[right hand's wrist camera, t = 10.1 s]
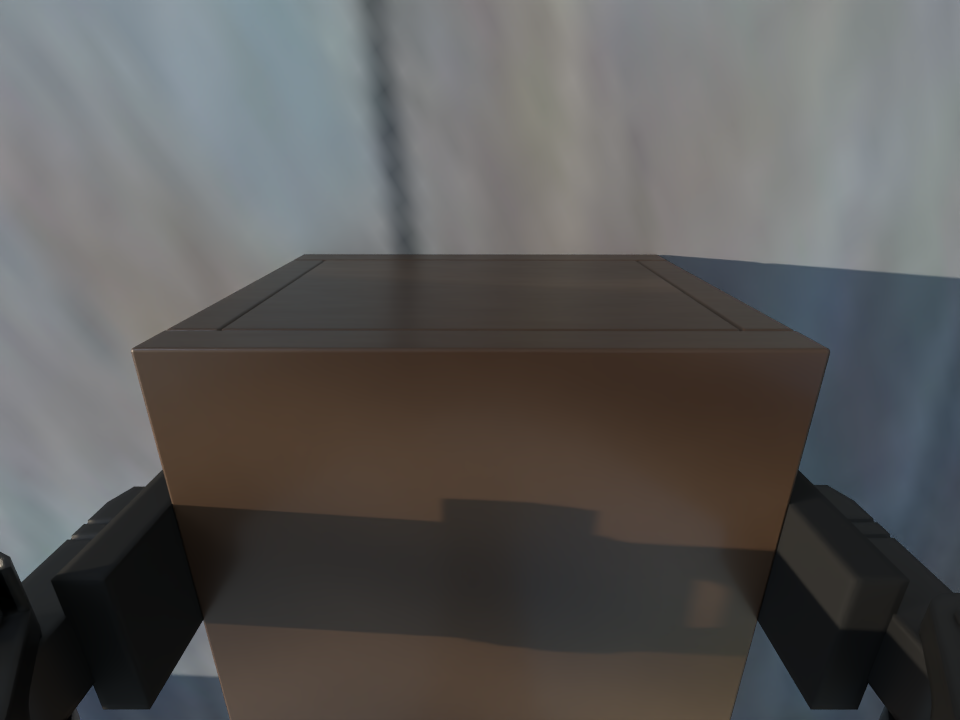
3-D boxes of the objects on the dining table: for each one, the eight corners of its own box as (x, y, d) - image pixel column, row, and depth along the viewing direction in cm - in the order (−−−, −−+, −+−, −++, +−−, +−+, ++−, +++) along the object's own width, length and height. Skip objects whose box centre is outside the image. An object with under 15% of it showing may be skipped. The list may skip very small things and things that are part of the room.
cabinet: (596, 729, 23) (653, 1007, 16) (363, 729, 23) (306, 1006, 16) (658, 254, 15) (833, 348, 8) (302, 254, 15) (128, 348, 8)
